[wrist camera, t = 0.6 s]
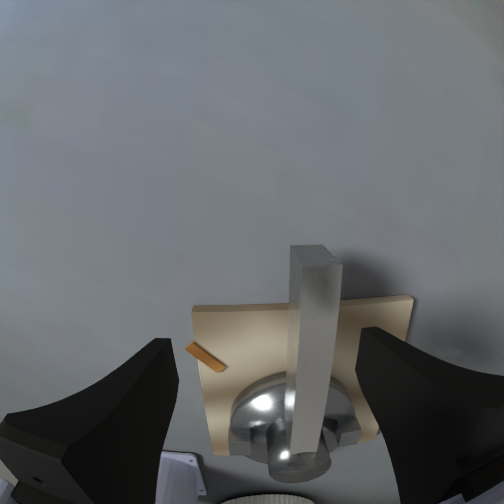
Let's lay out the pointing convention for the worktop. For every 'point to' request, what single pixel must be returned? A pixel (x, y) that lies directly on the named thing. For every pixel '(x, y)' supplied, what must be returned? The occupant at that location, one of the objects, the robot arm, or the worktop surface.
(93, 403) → the robot arm
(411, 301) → the square wooden board
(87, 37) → the worktop surface
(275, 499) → the plastic lid
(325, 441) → the metal lever mechanism
